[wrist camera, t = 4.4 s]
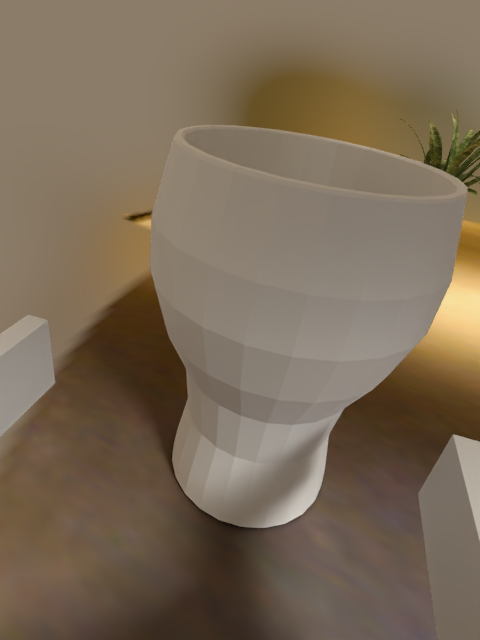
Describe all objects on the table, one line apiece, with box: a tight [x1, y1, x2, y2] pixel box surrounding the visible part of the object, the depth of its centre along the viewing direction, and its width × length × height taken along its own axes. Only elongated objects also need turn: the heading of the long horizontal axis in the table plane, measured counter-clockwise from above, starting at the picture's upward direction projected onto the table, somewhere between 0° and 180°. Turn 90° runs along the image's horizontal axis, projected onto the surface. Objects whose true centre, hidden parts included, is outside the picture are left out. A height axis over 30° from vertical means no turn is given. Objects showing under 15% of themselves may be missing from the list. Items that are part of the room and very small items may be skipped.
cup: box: [150, 125, 468, 528], centre depth 18 cm, size 11×11×15 cm
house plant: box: [401, 114, 480, 197], centre depth 50 cm, size 14×14×16 cm
